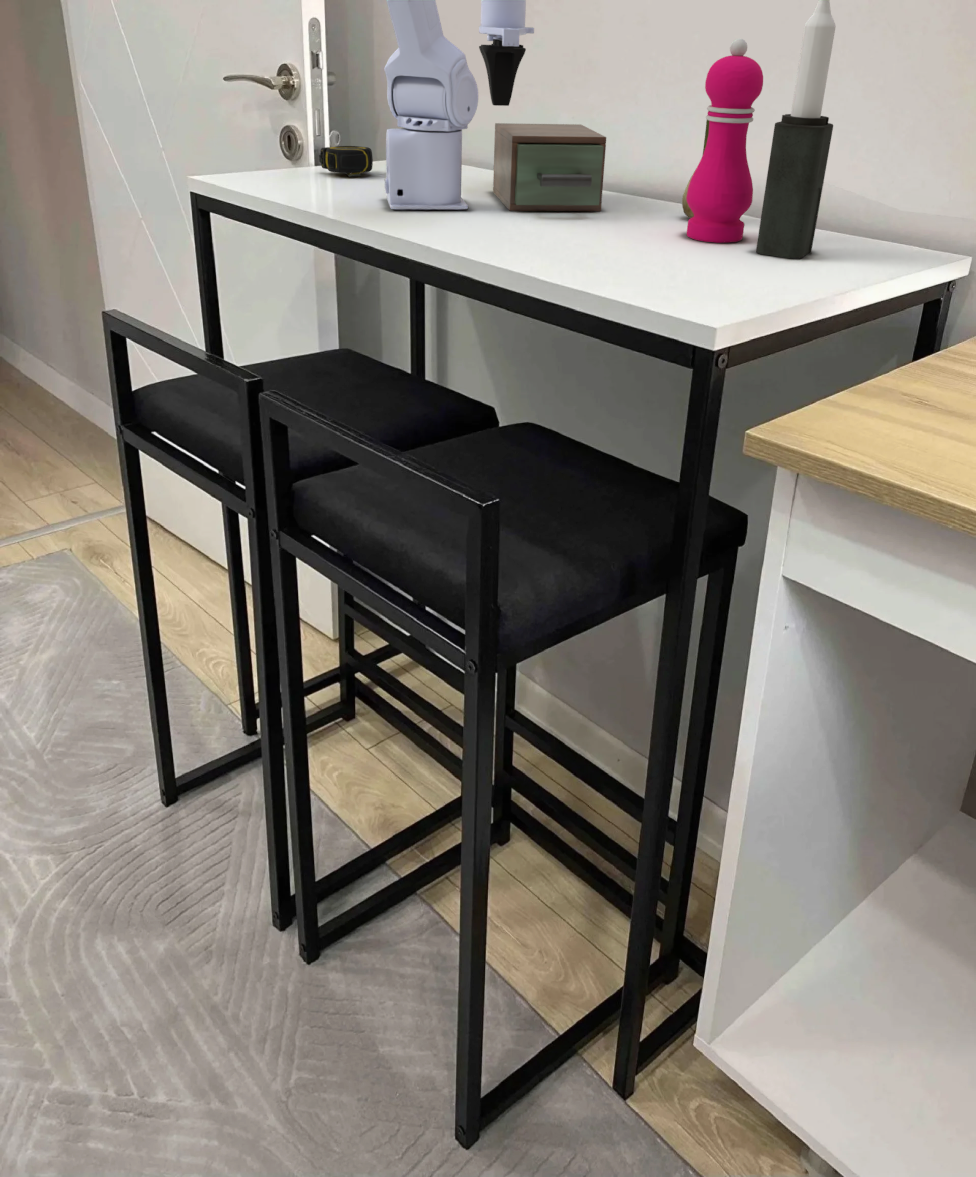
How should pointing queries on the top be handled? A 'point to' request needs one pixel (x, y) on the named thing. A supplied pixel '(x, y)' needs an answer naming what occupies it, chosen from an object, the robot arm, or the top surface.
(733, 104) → the pepper mill
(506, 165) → the cabinet
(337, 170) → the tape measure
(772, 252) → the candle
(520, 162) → the drawer
